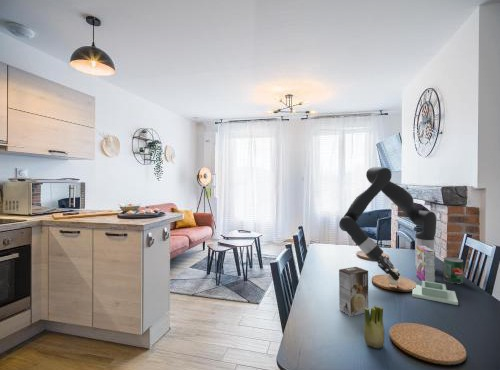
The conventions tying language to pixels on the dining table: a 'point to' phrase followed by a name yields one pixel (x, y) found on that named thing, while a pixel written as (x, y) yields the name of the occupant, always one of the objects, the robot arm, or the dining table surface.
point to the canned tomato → (453, 270)
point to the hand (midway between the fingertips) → (397, 277)
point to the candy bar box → (425, 263)
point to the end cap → (435, 292)
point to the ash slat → (391, 279)
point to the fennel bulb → (374, 327)
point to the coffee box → (353, 290)
